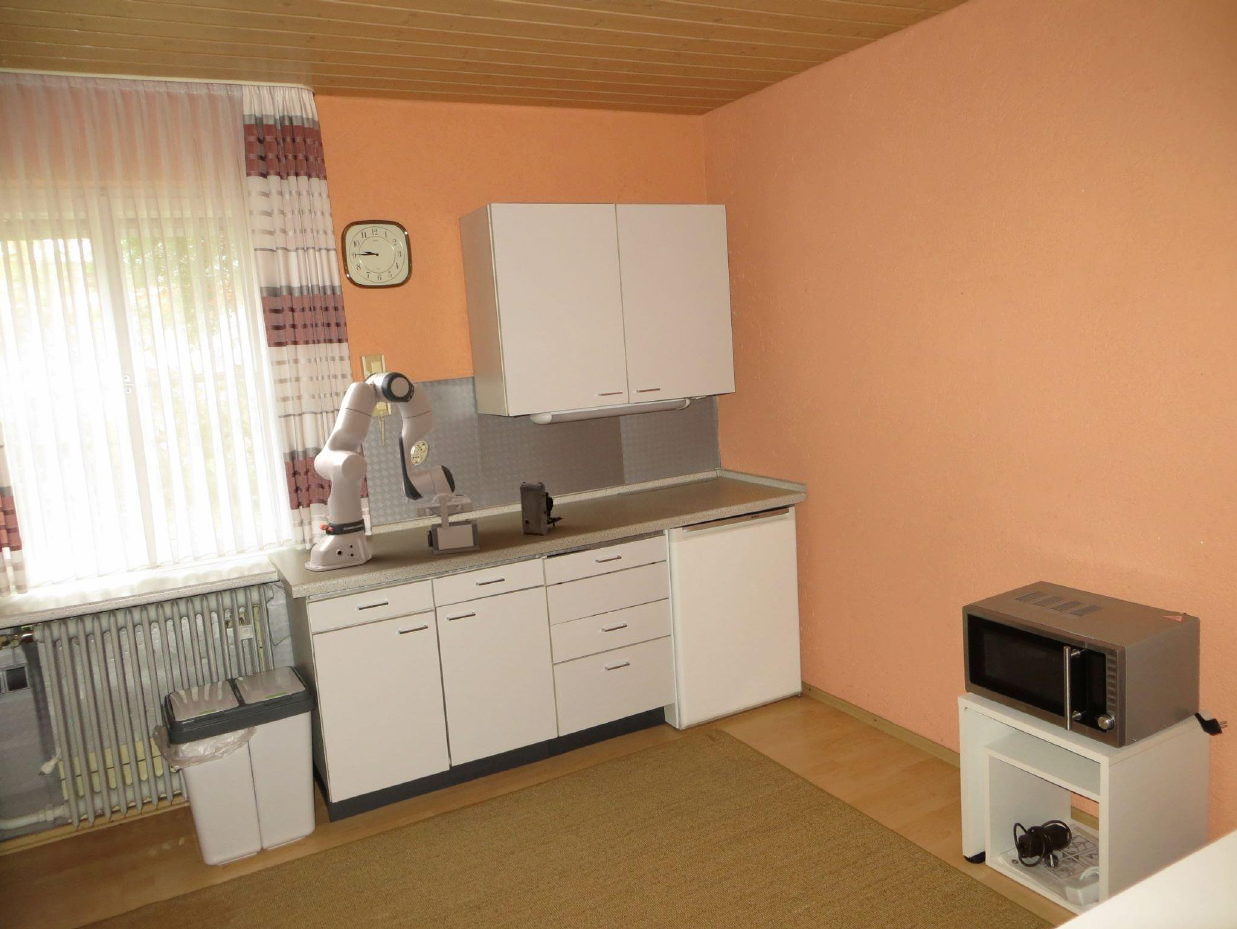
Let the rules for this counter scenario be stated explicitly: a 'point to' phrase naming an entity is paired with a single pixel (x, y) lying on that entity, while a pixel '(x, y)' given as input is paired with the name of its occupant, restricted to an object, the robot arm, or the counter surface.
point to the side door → (452, 530)
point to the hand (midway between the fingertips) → (444, 512)
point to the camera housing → (434, 543)
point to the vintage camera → (536, 508)
